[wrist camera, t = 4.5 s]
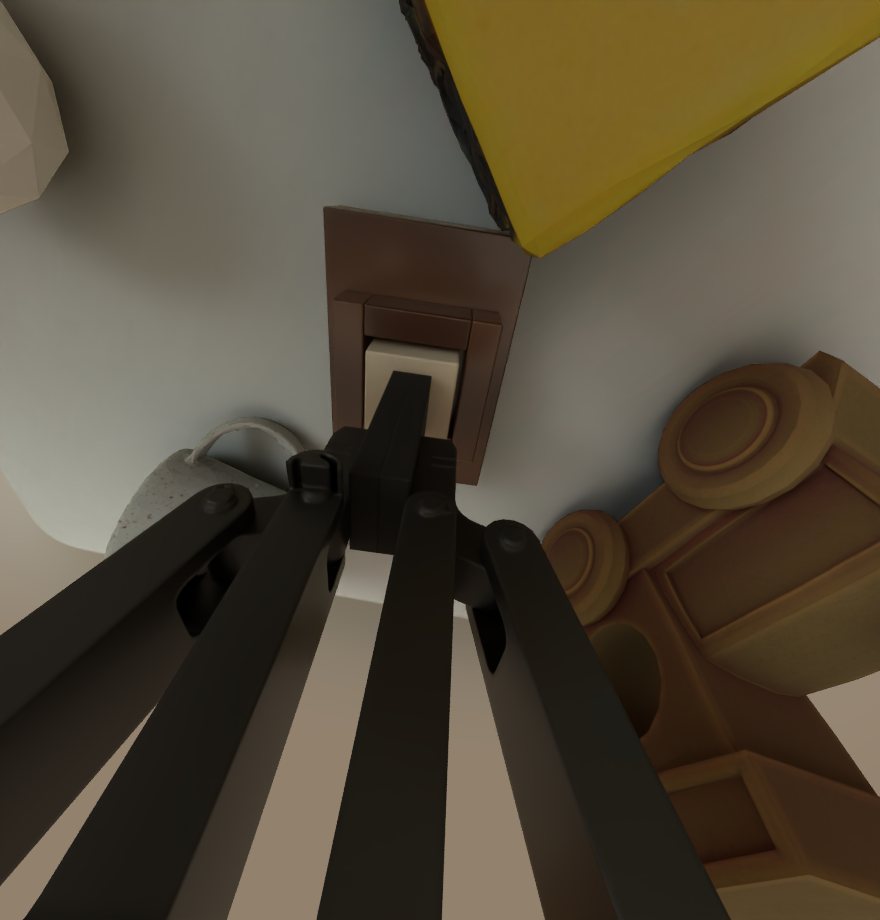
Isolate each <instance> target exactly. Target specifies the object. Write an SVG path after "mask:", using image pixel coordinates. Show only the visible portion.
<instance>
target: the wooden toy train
mask: <svg viewBox="0 0 880 920" xmlns="http://www.w3.org/2000/svg"><path fill="white" fill-rule="evenodd" d="M658 466H659V469H660V471H661V473H662V476H663V478H664V480H665V483H663V484H662V485H661V486H660V487H659V488H657V489H656V490H655V491H654V492H653V493H652V494H650V495H649V496H648V497H647V498H646V499H645V500H643V501H642V502H641V503H640V504H639V505H637V506H636V507H635V508H634V509H633V510H632V511H630V512H629V513H628V514H627V515H626V516H625V517H623V518H622V519H621V520H620V521H619V522H616V521H615V520H614V519H613V517H612V516H610V515H608V514H606V513H604V512H603V511H601V510H579V511H577V512H574V513H571V514H569V515H567V516H565V517H564V518H563V519H561V520H560V521H559V522H557V523H556V524H555V525H554V526H553V528H552V529H551V530H550V531H549V532H548V534H547V535H546V537H545V539H544V541H543V543H542V544H541V545H542V547H543V549H544V551H545V553H546V555H547V557H548V559H549V561H550V563H551V565H552V567H553V569H554V571H555V573H556V575H557V577H558V579H559V581H560V583H561V585H562V587H563V589H564V591H565V593H566V595H567V597H568V599H569V601H570V603H571V605H572V607H573V609H574V611H575V613H576V615H577V616H578V618H579V620H580V622H581V624H582V626H583V628H584V630H585V632H586V634H587V636H588V638H589V640H590V642H591V644H592V646H593V648H594V650H595V652H596V654H597V656H598V658H599V660H600V662H601V664H602V666H603V668H604V670H605V672H606V674H607V676H608V678H609V680H610V682H611V684H612V686H613V688H614V690H615V691H616V693H617V695H618V697H619V699H620V701H621V703H622V705H623V707H624V709H625V711H626V713H627V715H628V717H629V719H630V721H631V723H632V725H633V727H634V729H635V731H636V733H637V735H638V737H639V739H640V741H641V743H642V745H643V747H644V749H645V751H646V753H647V755H648V757H649V759H650V761H651V763H652V765H653V766H654V768H655V770H656V772H657V774H658V776H659V778H660V780H661V782H662V784H663V786H664V788H665V790H666V792H667V794H668V796H669V798H670V800H671V802H672V804H673V806H674V808H675V810H676V812H677V814H678V816H679V818H680V820H681V822H682V824H683V826H684V828H685V830H686V832H687V834H688V836H689V838H690V840H691V841H692V843H693V845H694V847H695V849H696V851H697V853H698V855H699V857H700V859H701V861H702V863H703V865H704V867H705V869H706V871H707V873H708V875H709V877H710V879H711V881H712V883H713V885H714V887H715V889H716V891H717V893H718V895H719V897H720V899H721V901H722V903H723V905H724V907H725V909H726V911H727V913H728V915H729V916H730V918H731V920H880V797H879V796H877V794H876V793H875V791H874V790H873V788H872V787H871V785H870V784H869V783H868V781H867V780H866V778H865V777H864V775H863V774H862V772H861V771H860V770H859V768H858V767H857V765H856V764H855V762H854V761H853V760H852V758H851V757H850V755H849V754H848V752H847V751H846V750H845V748H844V747H843V745H842V744H841V742H840V741H839V739H838V738H837V736H836V735H835V734H834V732H833V731H832V730H831V728H830V727H829V725H828V724H827V723H826V721H825V720H824V719H823V717H822V716H821V715H820V713H819V712H818V711H817V709H816V708H815V706H814V705H813V704H812V702H811V701H810V700H809V698H808V697H807V696H806V695H807V694H810V693H814V692H817V691H820V690H824V689H827V688H830V687H834V686H837V685H840V684H844V683H847V682H850V681H854V680H856V679H859V678H862V677H865V676H867V675H870V674H872V673H875V672H878V671H880V389H879V388H878V387H877V386H875V385H874V384H873V383H871V382H870V381H869V380H868V379H866V378H865V377H864V376H862V375H861V374H860V373H858V372H857V371H856V370H854V369H853V368H852V367H850V366H849V365H848V364H847V363H845V362H844V361H843V360H840V359H838V358H836V357H833V356H831V355H829V354H826V353H824V352H822V351H819V352H818V353H816V354H815V355H814V356H813V357H812V358H811V359H809V360H808V361H807V362H806V363H805V364H803V365H802V366H801V367H797V366H794V365H790V364H782V363H767V364H751V365H748V366H744V367H741V368H738V369H735V370H731V371H728V372H726V373H724V374H722V375H720V376H718V377H716V378H714V379H712V380H711V381H709V382H707V383H705V384H703V385H702V386H701V387H699V388H698V389H697V390H696V391H694V392H693V393H692V394H691V395H690V396H688V397H687V398H686V399H685V400H684V401H683V402H682V404H681V405H680V406H679V407H678V408H677V409H676V411H675V412H674V413H673V414H672V416H671V418H670V419H669V421H668V423H667V425H666V427H665V428H664V430H663V434H662V437H661V441H660V444H659V448H658Z"/></svg>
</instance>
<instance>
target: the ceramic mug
mask: <svg viewBox="0 0 880 920" xmlns="http://www.w3.org/2000/svg"><path fill="white" fill-rule="evenodd" d="M244 428H257V429H260V430H262V431H264V432H266V433H268V434H270V435H272V436H273V437H274V438H276V439H277V440H278V442H279V443H280V444H281V446H282V447H283V448H284V449H287V450H288V451H290V453H291V456H293V455H295V454H298V453H300V452H303V451H304V449H303V447H302V445H301V444H300V442H299V441H298V439H297V438H296V437H295V436H294V435H293V434H292V433H291V432H290V431H288V430H287V429H285V428H284V427H282V426H280V425H279V424H277V423H274V422H272V421H269V420H266V419H263V418H255V417H244V418H240V419H236V420H233V421H230V422H228V423H226V424H224V425H222V426H220V427H218V428H216V429H215V430H213V431H212V432H210V433H209V434H208V435H207V436H206V437H205V438H204V439H203V440H202V441H201V442H200V443H199V445H198V446H197V447H196V448H195V450H191V449H182V450H179V451H177V452H175V453H174V454H172V455H171V456H169V457H168V458H167V459H165V460H164V461H163V462H161V463H160V464H159V465H158V466H157V467H156V468H155V469H154V471H153V472H152V473H151V474H150V475H149V476H148V477H147V478H146V479H145V481H144V482H143V483H142V485H141V486H140V487H139V489H138V490H137V492H136V493H135V495H134V496H133V497H132V499H131V501H130V503H129V504H128V505H127V507H126V508H125V510H124V512H123V514H122V515H121V517H120V519H119V521H118V523H117V526H116V528H115V530H114V532H113V533H112V535H111V538H110V541H109V543H108V546H107V548H106V553H105V557H104V560H105V559H106V558H108V557H109V556H110V555H112V554H113V553H115V552H116V551H117V550H119V549H120V548H121V547H123V546H124V545H126V544H127V543H128V542H130V541H131V540H132V539H134V538H135V537H137V536H138V535H139V534H141V533H142V532H143V531H145V530H146V529H148V528H149V527H150V526H152V525H153V524H154V523H156V522H157V521H159V520H160V519H161V518H163V517H164V516H165V515H167V514H168V513H170V512H171V511H172V510H174V509H175V508H176V507H178V506H179V505H181V504H182V503H183V502H185V501H186V500H187V499H189V498H190V497H192V496H193V495H194V494H196V493H197V492H199V491H201V490H203V489H205V488H206V487H210V486H213V485H216V484H223V483H234V484H240V485H243V486H245V487H246V488H248V489H249V490H250V492H251V494H252V497H253V498H258V497H269V496H278V495H283V494H286V493H287V492H286V491H284V490H282V489H279V488H277V487H275V486H272V485H270V484H268V483H265V482H263V481H261V480H258V479H256V478H254V477H251V476H249V475H247V474H245V473H243V472H241V471H239V470H237V469H235V468H233V467H231V466H229V465H227V464H224V463H222V462H220V461H218V460H216V459H213V458H211V457H208V456H206V454H207V452H208V451H209V449H210V448H211V446H212V445H213V444H214V443H215V441H216V440H217V439H218V438H219V437H220V436H222V435H223V434H225V433H229V432H232V431H234V430H236V431H238V430H240V429H244Z"/></svg>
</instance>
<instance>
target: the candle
mask: <svg viewBox="0 0 880 920" xmlns="http://www.w3.org/2000/svg"><path fill="white" fill-rule="evenodd" d="M399 4H400V7H401V13H402V14H403V15H404V16H405V20H407V22H408V24H409V26H410V29H411V31H412V33H413V35H414V38H415V41H416V44H417V45H418V50H419V53H420V54H421V59H422V60H423V61H424V63H425V64H426V65H427V67H428V69H429V71H430V75H431V78H432V80H433V83H434V85H435V86H436V87H437V88H438V89H439V92H440V96H441V99H442V102H443V105H444V108H445V110H446V113H447V116H448V118H449V121H450V123H451V126H452V128H453V131H454V133H455V135H456V137H457V139H458V142H459V144H460V147H461V149H462V151H463V152H464V154H465V156H466V157H467V159H468V161H469V162H470V164H471V166H472V168H473V171H474V174H475V176H476V179H477V181H478V184H479V186H480V188H481V190H482V192H483V194H484V196H485V198H486V201H487V203H488V208H489V214H490V215H491V217H492V218H493V219H494V221H495V222H496V224H497V226H498V227H499V228H501V230H502V231H504V230H510V236H511V241H513V242H514V243H515V244H517V245H518V246H519V247H521V248H522V249H523V251H524V253H525V255H529V256H533V257H537V258H541V257H543V256H545V255H547V254H548V253H550V252H552V251H553V250H555V249H557V248H559V247H560V246H562V245H564V244H566V243H567V242H569V241H571V240H572V239H574V238H576V237H578V236H579V235H581V234H583V233H585V232H586V231H588V230H589V229H591V228H592V227H593V226H595V225H596V224H598V223H599V222H601V221H602V220H603V219H605V218H606V217H608V216H609V215H610V214H612V213H613V212H615V211H616V210H617V209H619V208H620V207H622V206H623V205H625V204H626V203H627V202H629V201H630V200H632V199H633V198H634V197H636V196H637V195H639V194H640V193H641V192H643V191H644V190H646V189H647V188H648V187H649V186H651V185H652V184H653V183H654V182H656V181H657V180H658V179H660V178H661V177H662V176H663V175H665V174H666V173H667V172H668V171H670V170H671V169H672V168H674V167H675V166H676V165H677V164H679V163H680V162H681V161H683V160H684V159H685V158H686V157H688V156H689V155H690V154H692V153H694V152H696V151H698V150H700V149H702V148H704V147H706V146H707V145H709V144H711V143H713V142H715V141H717V140H719V139H721V138H723V137H725V136H727V135H729V134H730V133H732V132H733V131H735V130H736V129H737V128H739V127H740V126H741V125H743V124H744V123H746V122H747V121H748V120H750V119H751V118H753V117H754V116H756V115H757V114H759V113H760V112H762V111H764V110H765V109H767V108H768V107H770V106H771V105H773V104H775V103H776V102H778V101H779V100H781V99H783V98H784V97H786V96H787V95H789V94H790V93H792V92H794V91H795V90H797V89H798V88H800V87H802V86H803V85H805V84H806V83H808V82H810V81H811V80H813V79H814V78H816V77H817V76H819V75H821V74H822V73H824V72H825V71H827V70H829V69H830V68H832V67H833V66H835V65H836V64H838V63H840V62H841V61H843V60H844V59H846V58H848V57H849V56H851V55H852V54H854V53H856V52H857V51H859V50H860V49H862V48H863V47H865V46H866V45H868V44H870V43H871V42H873V41H874V40H876V39H877V38H879V37H880V0H399Z"/></svg>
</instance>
